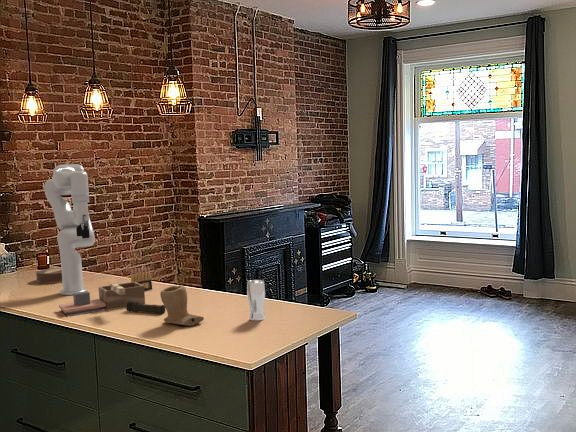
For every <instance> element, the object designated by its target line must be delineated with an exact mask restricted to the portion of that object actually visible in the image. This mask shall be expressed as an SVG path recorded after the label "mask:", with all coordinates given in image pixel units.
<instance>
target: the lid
mask: <svg viewBox="0 0 576 432" xmlns="http://www.w3.org/2000/svg"><path fill="white" fill-rule="evenodd" d="M72 296H73V297H72V298H73V302H69V303H61V304H60V303H59V304H58V307H59V309H60V310H61V311H62V310H63V311H64V312H65V313H68V314H70V313H76V312H82V311H88V310H95V309H101V308H104V307H105V306H106V304H105V303H104V302H102V301H101V300H99V298H95V299H91V297H90V296H91V293H90V291H84V292H77V293H73V295H72ZM63 311H62V312H63ZM64 312H63V313H64ZM65 313H64V314H65Z"/></svg>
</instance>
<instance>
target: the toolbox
mask: <svg viewBox="0 0 576 432" xmlns="http://www.w3.org/2000/svg"><path fill="white" fill-rule="evenodd" d="M117 284H118V285H119V286H121V287H123V288H125V294H124V295H119V294H118V293H116V292H114V291H112V290H111V286H110V285H104V286H103V285H102V286H98V297H99V298H98V299H99V300H101V301H102V302H104V303H105V304H106V306H105V307H103V309H105V310H108V311H109V310H112V309H113V310H114V309H118V308H119V309H120V308H126V305H127V303H128V302H129V301H135V302H139V304H146V296H145V291H144V286H143V285H141V284H139V283H137V282H131V281H130V282H126V283H117Z"/></svg>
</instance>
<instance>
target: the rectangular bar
mask: <svg viewBox="0 0 576 432" xmlns="http://www.w3.org/2000/svg"><path fill="white" fill-rule="evenodd" d="M118 284H119V283H116V282H112V283H110V286H111V290H112V291H114V292H116V293H118V294H119V295H124V294H125V288H123V287H121V286H119V285H118Z"/></svg>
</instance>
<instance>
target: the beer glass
mask: <svg viewBox="0 0 576 432" xmlns="http://www.w3.org/2000/svg"><path fill="white" fill-rule="evenodd" d="M246 283H247V287H246V289H247V290H246V292H247V293H246V295H247V301H248V305H249V320H250V321H252V322H258V321H259V322H260V321H264V320H265V319H266V317H265V313H264V311H265V310H264V307H265V299H266V288H265V287H266V286H265V280H262V279H252V280H248V281H247V282H246Z"/></svg>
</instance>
